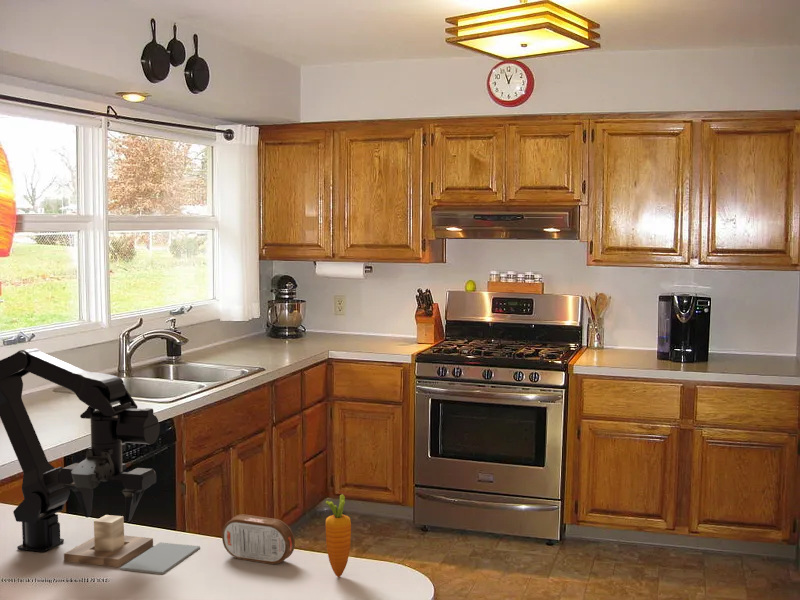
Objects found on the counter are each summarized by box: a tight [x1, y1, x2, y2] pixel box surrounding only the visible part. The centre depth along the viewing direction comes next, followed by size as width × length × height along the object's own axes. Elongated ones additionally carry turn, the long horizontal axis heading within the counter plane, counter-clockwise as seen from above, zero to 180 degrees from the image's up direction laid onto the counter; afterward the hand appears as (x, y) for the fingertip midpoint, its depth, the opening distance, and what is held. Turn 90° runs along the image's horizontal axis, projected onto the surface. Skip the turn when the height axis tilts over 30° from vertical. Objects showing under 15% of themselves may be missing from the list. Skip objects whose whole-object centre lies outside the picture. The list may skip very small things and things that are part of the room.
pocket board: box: [63, 534, 154, 568], centre depth 168 cm, size 12×12×2 cm
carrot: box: [325, 494, 352, 578], centre depth 154 cm, size 5×5×15 cm
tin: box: [221, 513, 296, 565], centre depth 163 cm, size 15×3×8 cm, turn 69°
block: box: [93, 514, 125, 552], centre depth 167 cm, size 4×4×7 cm
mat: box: [119, 542, 201, 575], centre depth 165 cm, size 9×14×1 cm, turn 165°
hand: (108, 518), depth 167 cm, fingers open, 9 cm apart
